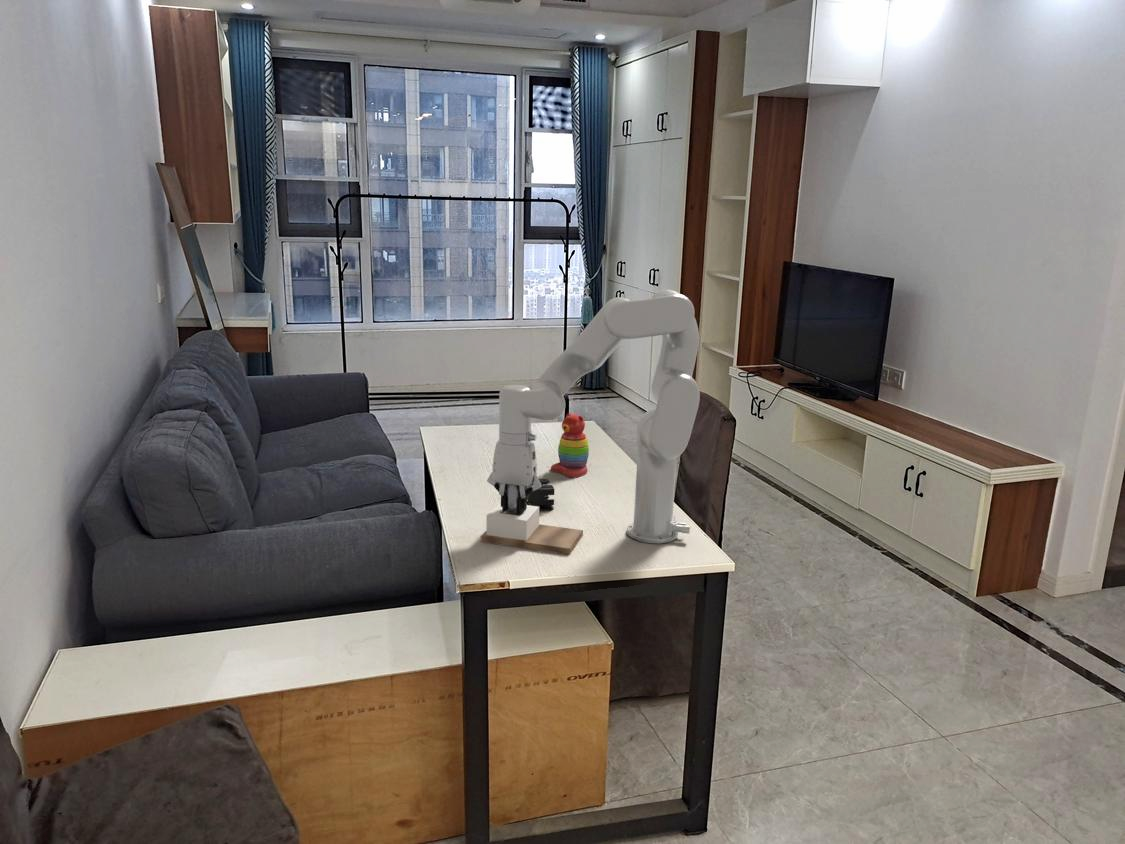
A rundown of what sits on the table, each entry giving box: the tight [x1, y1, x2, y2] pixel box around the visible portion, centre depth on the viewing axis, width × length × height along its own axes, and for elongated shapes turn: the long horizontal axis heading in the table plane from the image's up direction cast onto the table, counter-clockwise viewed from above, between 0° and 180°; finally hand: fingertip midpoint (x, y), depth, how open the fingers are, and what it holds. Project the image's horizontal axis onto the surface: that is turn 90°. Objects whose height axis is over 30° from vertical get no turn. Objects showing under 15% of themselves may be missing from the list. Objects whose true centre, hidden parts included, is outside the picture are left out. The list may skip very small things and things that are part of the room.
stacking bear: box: [550, 413, 590, 479], centre depth 251 cm, size 11×10×18 cm
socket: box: [485, 501, 540, 541], centre depth 201 cm, size 10×10×5 cm
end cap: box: [527, 478, 555, 512], centre depth 223 cm, size 10×7×7 cm
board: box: [480, 523, 584, 555], centre depth 201 cm, size 22×12×2 cm, turn 74°
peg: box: [507, 484, 521, 516], centre depth 200 cm, size 3×3×10 cm
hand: (513, 510), depth 201 cm, fingers closed on peg, 3 cm apart
